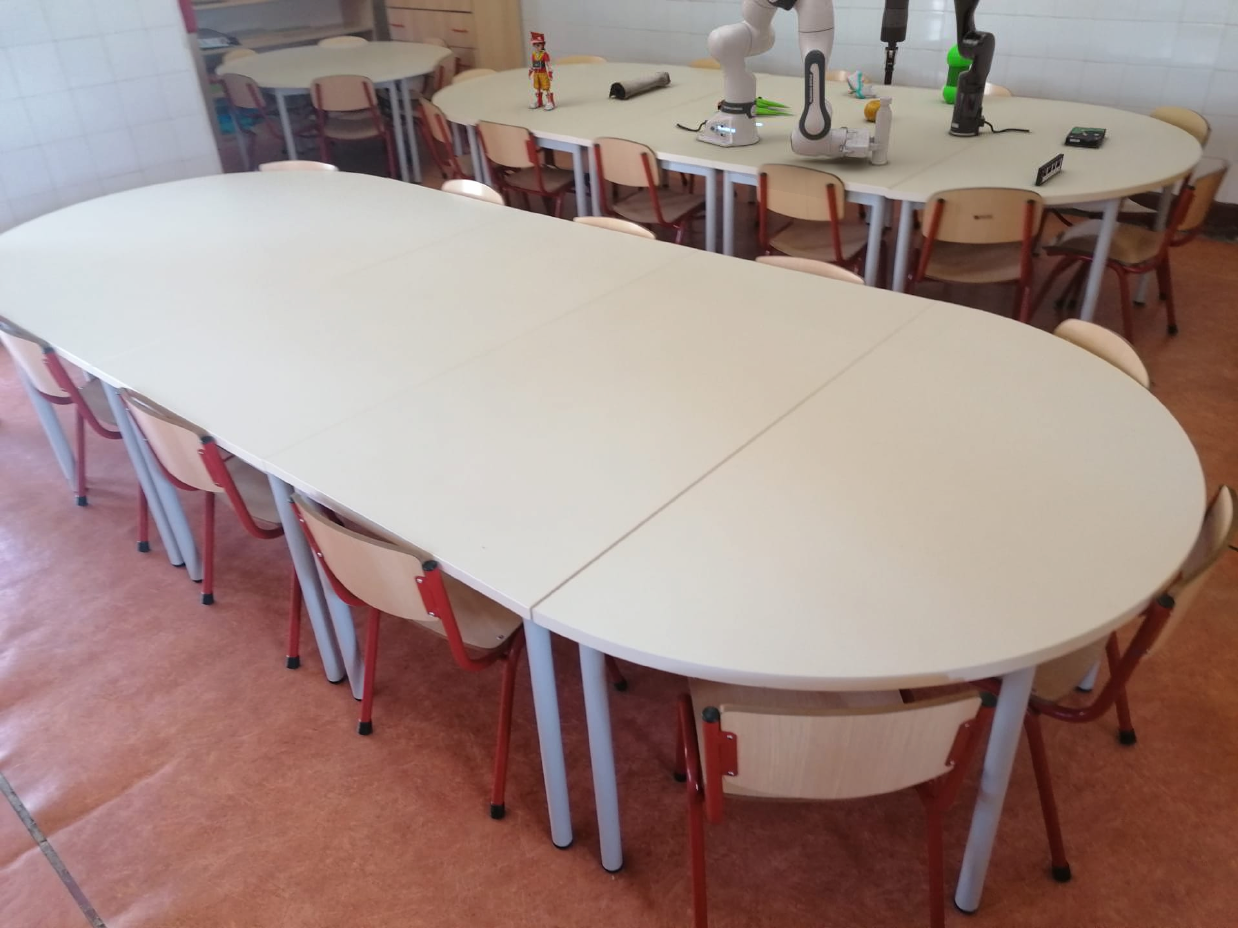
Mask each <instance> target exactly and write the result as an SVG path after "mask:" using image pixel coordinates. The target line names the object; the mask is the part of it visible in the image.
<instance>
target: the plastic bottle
mask: <svg viewBox="0 0 1238 928" xmlns="http://www.w3.org/2000/svg"><path fill="white" fill-rule="evenodd" d="M972 62H973V61H972V60H966V59H963V58H961V57H960V55H959V53H958V48H957V43H956V44H954V45H953V46H952V47H951V48H950V49H949V50H948V52H947V54H946V63H947V64H948V69H947V70H948V71H947V76H946V77H947V78H946V84H945V85H944V87H943V90H942V97H943V99H944V100H945V101H946V102H947V103H948V104H954V103H955V96H956V90H957V83H958V77H959V74H960V73H961V72H963V71H967V70H969V69H970V68H971V66H972Z"/></svg>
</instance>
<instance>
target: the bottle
mask: <svg viewBox="0 0 1238 928" xmlns="http://www.w3.org/2000/svg"><path fill="white" fill-rule="evenodd" d="M892 117H893V111H892V109H891V107H890V104H889V105H882V104H881V107H880V108H879V110H878V111H877V114H876V121H875V123H874V134H873V136H874V142H873V144H878V143H883V144H884V147H883V150H875V151H871V164H873V165H875V166H882V165H886V164H887V161H888V152H889V146H890V145H889V144H890V135H891V128H892V127H891V126H892V120H893V119H892Z"/></svg>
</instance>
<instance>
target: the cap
mask: <svg viewBox="0 0 1238 928" xmlns="http://www.w3.org/2000/svg"><path fill="white" fill-rule="evenodd" d="M879 100H880V104H882V105H889V106H890V105H891V104H892V102H893V97H892V96H890V95H883V96H880V97H879Z"/></svg>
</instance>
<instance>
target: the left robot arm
mask: <svg viewBox="0 0 1238 928" xmlns="http://www.w3.org/2000/svg"><path fill="white" fill-rule="evenodd" d="M778 8H779V9H782V10H784V11H786V12H789V11H791V10H792V9H794V10H795V12H796V14H797V34H798V35H797V36H798V45H799V51H800V57H801V61H802V68H803V75H804V107H803V110H802V113H801V116H800V117H799V120H798V122H797V124H796V126H795V127H794V128H793V130H791V132H790V146H791V150H792V152H793V153H794V154H795V155H797V156H800V157H801V156H802V157H814V158H815V157H817V158H818V157H823V156H824V157H828V158H845V156H846V157H851V158H867V157H869V152H872V151H875V150H883V147H884V144H883V143H878V144H873V142H874V135H871V130H869V129H864V128H851V127H850V128H849V127H848V126H840V127H839V128H838V127H837V128H832V119H833V113H834V112H833V107H832V104H831V103H830V101H829V100H828V99H826V75H827V74H826V73H827V69H828V64H829V61H830V58H831V55H832V52H833V48H834V40H835V11H834V5H833V0H743V1H742V3H741V7H740V10H741V16H742V18H743V21H741V22H738V23H732V24H725V25H722V26H719V27H717V28H715V29H713V30H711V32H710V33H709V35H708V37H707V43H706V46H707V47H706V48H707V51H708V54H709V55H710V57H711V58H712V59H713V60H714V61H716V63H718V65H719V67H720V69H721V71H722V74H723V83H724V87H723V88H724V99H722V100H721V101H719V102H718V103H720V104H719V105H718V104H717V107H718V106H720V105H721V108H720V110H717V112H716V113H715V114H713V115H712V116H711V117H709V118H708V119H706V120H704V121H703V122H701V123H700V125H699V127H698V128H695V129H692V128H690V127H687V126H683V125H681V124H680V123H676V126H677V127H678V128H680V129H682V130H686V131H688V132H689V131H690V132H700V131H701V129H702V126H704V129H703V130H704V131H703V132H702V133H700V134H699V135H698V137H697V140H698V141H700V142H704V143H708V144H712V145H717V146H721V147H725V148H728V147H733V146H734V147H735V146H738V147H739V146H747V145H748V146H749V145H753V144H756V143H758V142H760V141H759V140H760V137H759V134H758V127H757V126H759V127H760V126H763V123H758V122H757V114H756V112H757V99H756V98H757V76H756V74H755V73H754V72H753V71H752V70H751V69H749V68H747V65H746V60H745V59H746V58H749V57H754V56H760V55H762V54H764V53H766V52H769V51H770V50H771V49H772V48H773V47H774V44H775V42H776V29H775V28H774V26H773V24H772V21H773V19H774V16H775V15H776V13H777V11H778V10H779V9H778Z"/></svg>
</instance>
